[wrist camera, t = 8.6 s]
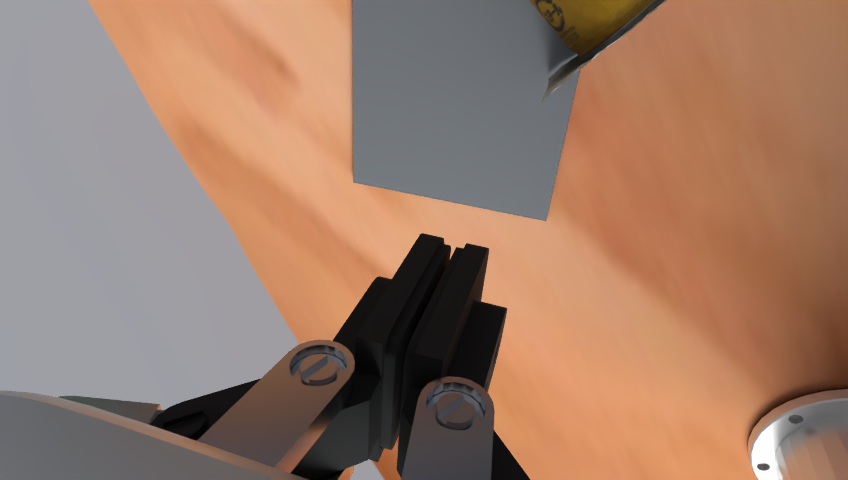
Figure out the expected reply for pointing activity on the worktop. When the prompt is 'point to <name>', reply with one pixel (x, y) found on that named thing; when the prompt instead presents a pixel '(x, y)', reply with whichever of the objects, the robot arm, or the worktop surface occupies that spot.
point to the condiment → (590, 28)
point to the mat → (459, 101)
